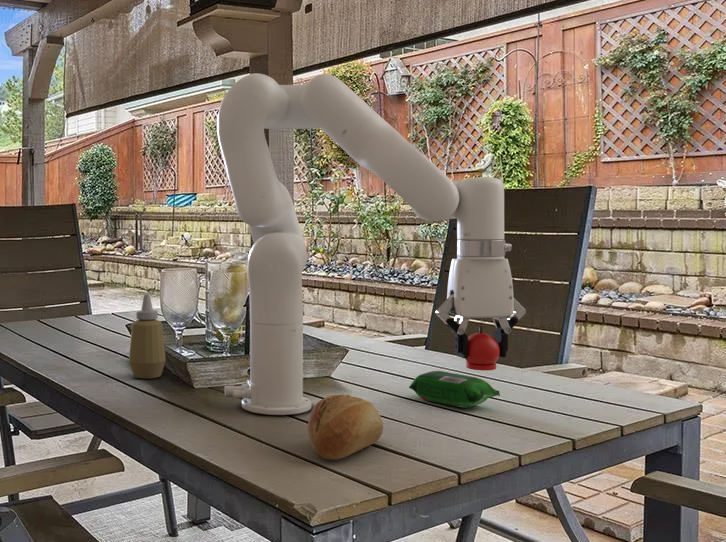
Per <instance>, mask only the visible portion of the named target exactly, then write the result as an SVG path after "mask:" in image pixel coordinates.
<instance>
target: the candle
mask: <svg viewBox="0 0 726 542" xmlns="http://www.w3.org/2000/svg"><path fill="white" fill-rule="evenodd" d="M478 331H479V332H474V333H472V334H470V335H468V358H464V359H465V361H466V362H465V367H466V369H469V370H474V371H495V370H496V369H497V361H498V360H499V358H500V356H499V355H500V347H499V344H498V342H497V341H496V340H495V338H494V337H493V335H491V334H489V333H486V332H483V326H482V325H479V329H478Z"/></svg>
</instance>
